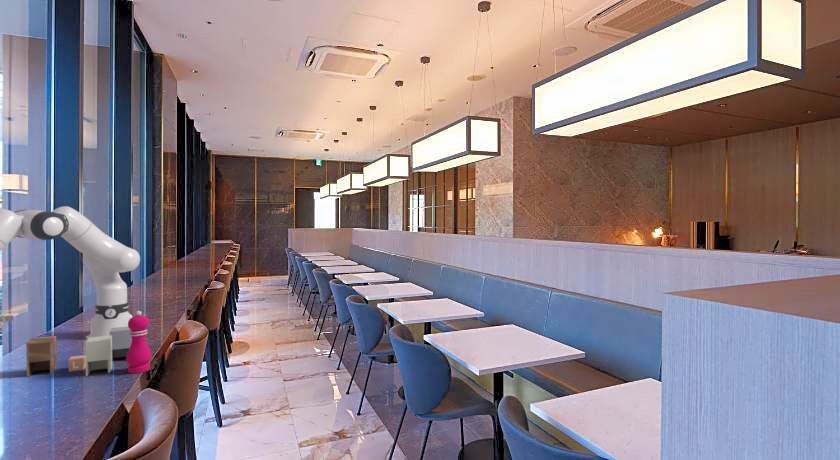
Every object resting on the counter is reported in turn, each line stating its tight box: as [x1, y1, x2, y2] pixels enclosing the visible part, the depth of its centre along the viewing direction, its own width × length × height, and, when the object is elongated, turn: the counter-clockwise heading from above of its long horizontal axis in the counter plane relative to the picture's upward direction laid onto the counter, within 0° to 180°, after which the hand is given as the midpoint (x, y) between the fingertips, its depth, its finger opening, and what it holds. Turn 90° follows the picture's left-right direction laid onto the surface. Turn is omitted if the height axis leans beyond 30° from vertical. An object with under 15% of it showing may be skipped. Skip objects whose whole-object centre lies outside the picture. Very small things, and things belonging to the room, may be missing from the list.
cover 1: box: [84, 335, 113, 377], centre depth 150 cm, size 6×6×11 cm
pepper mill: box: [125, 310, 153, 375], centre depth 151 cm, size 7×7×20 cm
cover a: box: [25, 335, 57, 378], centre depth 149 cm, size 6×6×11 cm
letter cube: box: [67, 354, 86, 372], centre depth 152 cm, size 4×4×4 cm
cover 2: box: [109, 327, 132, 361], centre depth 163 cm, size 6×6×11 cm
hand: (8, 321), depth 147 cm, fingers open, 8 cm apart
